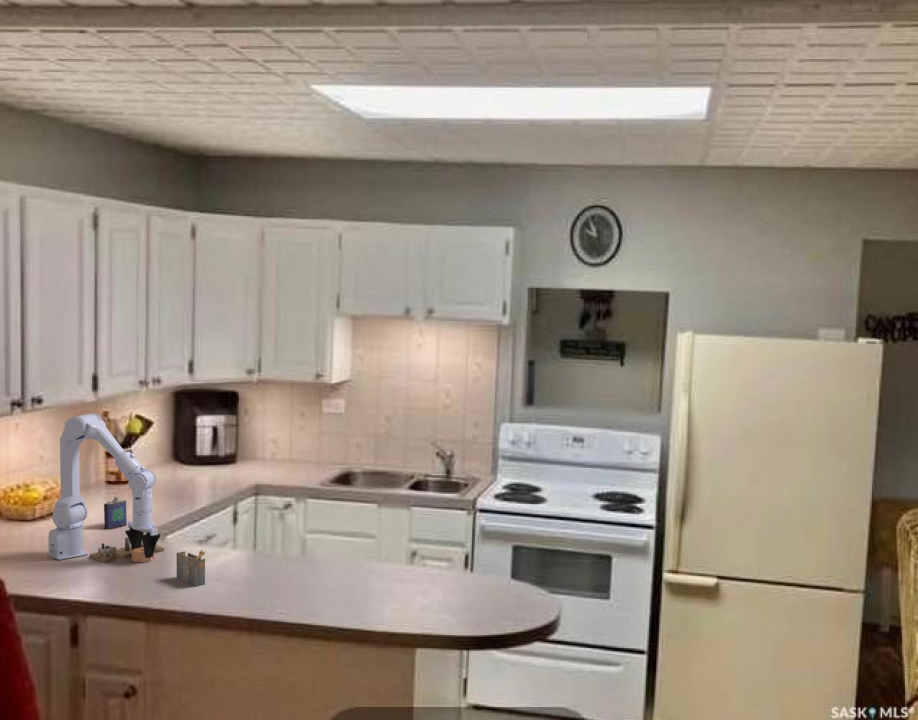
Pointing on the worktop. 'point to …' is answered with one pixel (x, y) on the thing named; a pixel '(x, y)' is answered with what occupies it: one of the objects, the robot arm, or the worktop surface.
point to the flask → (115, 514)
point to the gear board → (117, 552)
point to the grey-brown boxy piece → (191, 568)
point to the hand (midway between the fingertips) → (142, 555)
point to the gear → (140, 555)
